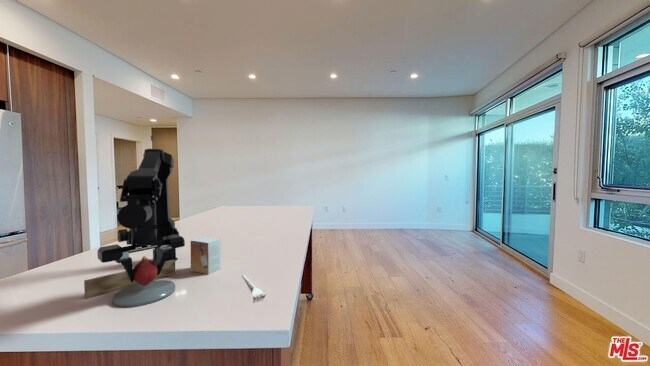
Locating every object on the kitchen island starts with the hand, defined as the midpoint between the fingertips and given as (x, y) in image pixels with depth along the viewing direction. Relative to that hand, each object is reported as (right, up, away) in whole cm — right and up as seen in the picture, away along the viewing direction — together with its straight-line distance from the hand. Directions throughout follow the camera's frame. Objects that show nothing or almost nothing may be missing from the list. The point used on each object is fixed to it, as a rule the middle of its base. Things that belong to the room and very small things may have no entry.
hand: (145, 278), depth 72 cm
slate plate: (0, -4, 0) cm, 4 cm away
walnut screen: (-8, -4, +7) cm, 11 cm away
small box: (+8, -4, +18) cm, 20 cm away
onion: (0, -2, 0) cm, 2 cm away
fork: (+28, -5, +5) cm, 28 cm away
